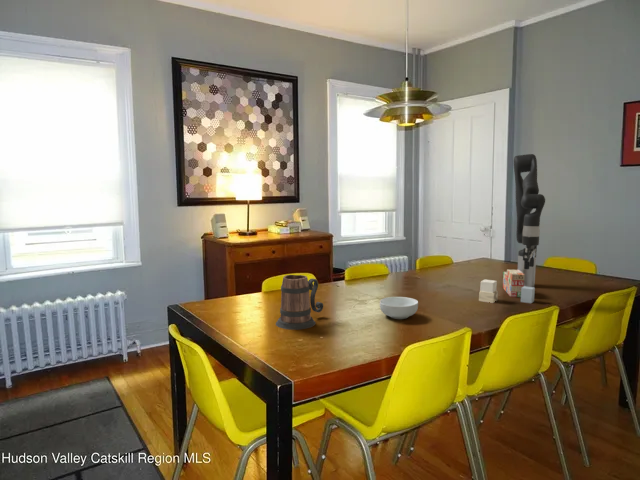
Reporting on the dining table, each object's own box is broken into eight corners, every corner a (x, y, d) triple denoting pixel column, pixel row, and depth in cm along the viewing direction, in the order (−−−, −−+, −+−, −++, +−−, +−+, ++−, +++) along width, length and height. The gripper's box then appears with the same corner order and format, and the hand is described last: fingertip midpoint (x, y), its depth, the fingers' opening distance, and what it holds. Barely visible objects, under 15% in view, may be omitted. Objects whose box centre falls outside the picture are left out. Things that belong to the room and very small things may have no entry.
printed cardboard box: (502, 287, 255) (503, 266, 253) (514, 288, 254) (515, 266, 252) (510, 297, 234) (511, 273, 233) (523, 297, 233) (524, 274, 231)
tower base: (483, 298, 232) (483, 288, 231) (497, 300, 228) (497, 290, 227) (478, 301, 227) (479, 291, 226) (493, 303, 222) (493, 293, 222)
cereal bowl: (391, 309, 212) (392, 294, 211) (424, 315, 202) (424, 300, 201) (372, 317, 199) (372, 301, 198) (405, 325, 189) (406, 308, 188)
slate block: (523, 299, 229) (524, 286, 228) (533, 301, 225) (534, 287, 225) (520, 301, 225) (521, 288, 224) (531, 303, 222) (532, 289, 221)
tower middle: (484, 289, 231) (484, 279, 230) (496, 290, 227) (496, 280, 226) (480, 291, 226) (480, 281, 225) (492, 293, 222) (492, 283, 222)
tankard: (292, 332, 179) (292, 283, 177) (267, 322, 192) (266, 276, 189) (335, 320, 195) (335, 274, 193) (309, 312, 208) (309, 269, 205)
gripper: (526, 233, 229) (524, 265, 231) (518, 235, 218) (516, 269, 220) (542, 234, 224) (540, 266, 226) (535, 237, 213) (533, 270, 215)
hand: (528, 267), depth 223 cm, fingers open, 8 cm apart
